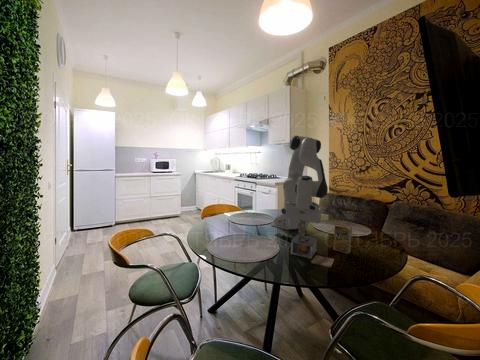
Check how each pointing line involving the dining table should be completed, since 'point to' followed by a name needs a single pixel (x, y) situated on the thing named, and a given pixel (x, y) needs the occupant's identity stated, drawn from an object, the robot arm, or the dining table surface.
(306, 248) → the glossy orange ball
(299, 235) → the beige square bar
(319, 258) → the cork pad
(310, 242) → the guard box
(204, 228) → the dining table surface
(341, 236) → the candy box
